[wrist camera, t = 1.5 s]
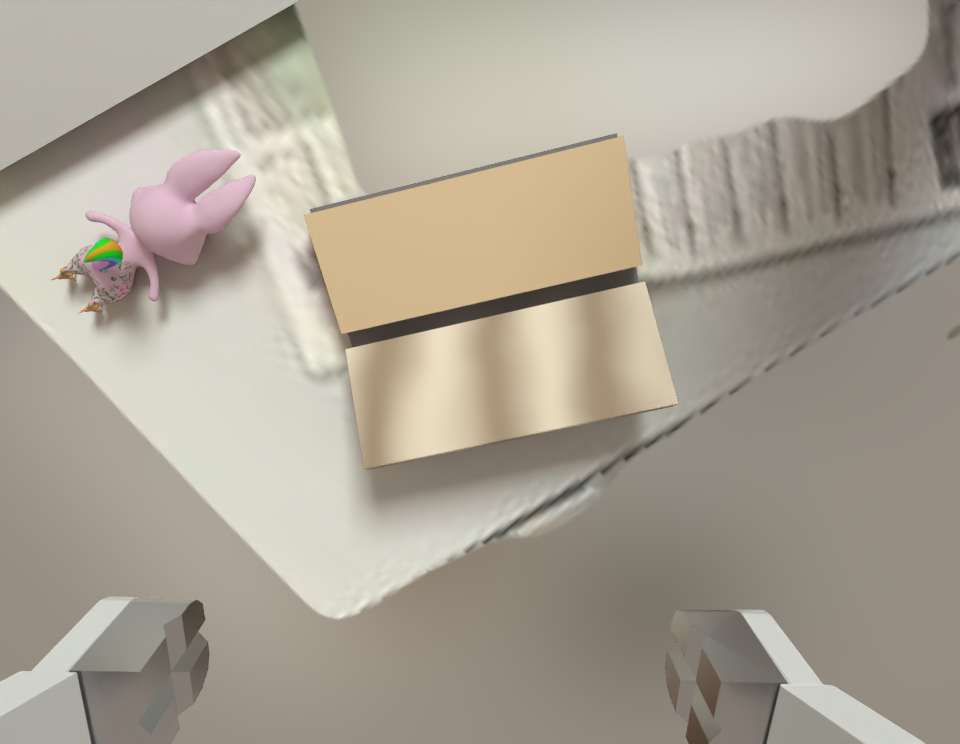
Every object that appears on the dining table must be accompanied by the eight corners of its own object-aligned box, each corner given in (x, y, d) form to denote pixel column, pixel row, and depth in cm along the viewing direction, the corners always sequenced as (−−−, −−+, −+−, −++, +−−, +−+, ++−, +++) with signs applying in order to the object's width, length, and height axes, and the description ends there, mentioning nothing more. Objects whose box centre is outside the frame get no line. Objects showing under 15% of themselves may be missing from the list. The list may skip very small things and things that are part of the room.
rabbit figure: (134, 324, 38) (293, 210, 33) (61, 353, 32) (240, 223, 28) (71, 245, 36) (229, 114, 32) (-17, 262, 31) (158, 107, 26)
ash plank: (640, 289, 35) (644, 281, 33) (672, 406, 33) (678, 403, 32) (353, 354, 36) (345, 349, 34) (371, 468, 34) (363, 469, 33)
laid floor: (614, 134, 33) (622, 130, 31) (652, 395, 38) (662, 406, 36) (312, 209, 34) (302, 209, 32) (387, 450, 39) (382, 464, 37)
